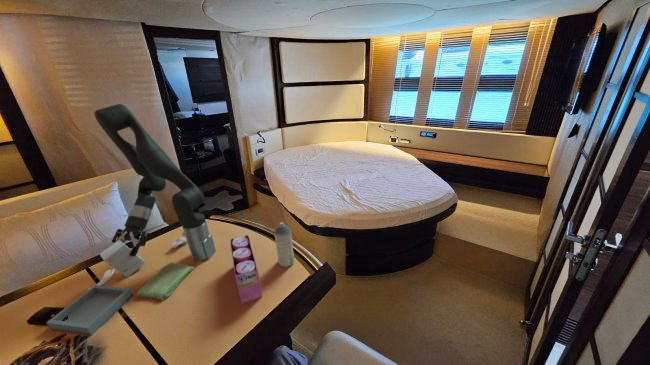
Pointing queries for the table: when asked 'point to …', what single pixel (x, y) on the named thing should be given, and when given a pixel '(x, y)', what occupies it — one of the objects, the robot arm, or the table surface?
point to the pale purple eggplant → (179, 241)
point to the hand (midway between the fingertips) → (123, 255)
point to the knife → (105, 277)
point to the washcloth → (165, 281)
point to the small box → (122, 258)
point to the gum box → (245, 269)
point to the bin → (91, 310)
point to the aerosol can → (284, 245)
